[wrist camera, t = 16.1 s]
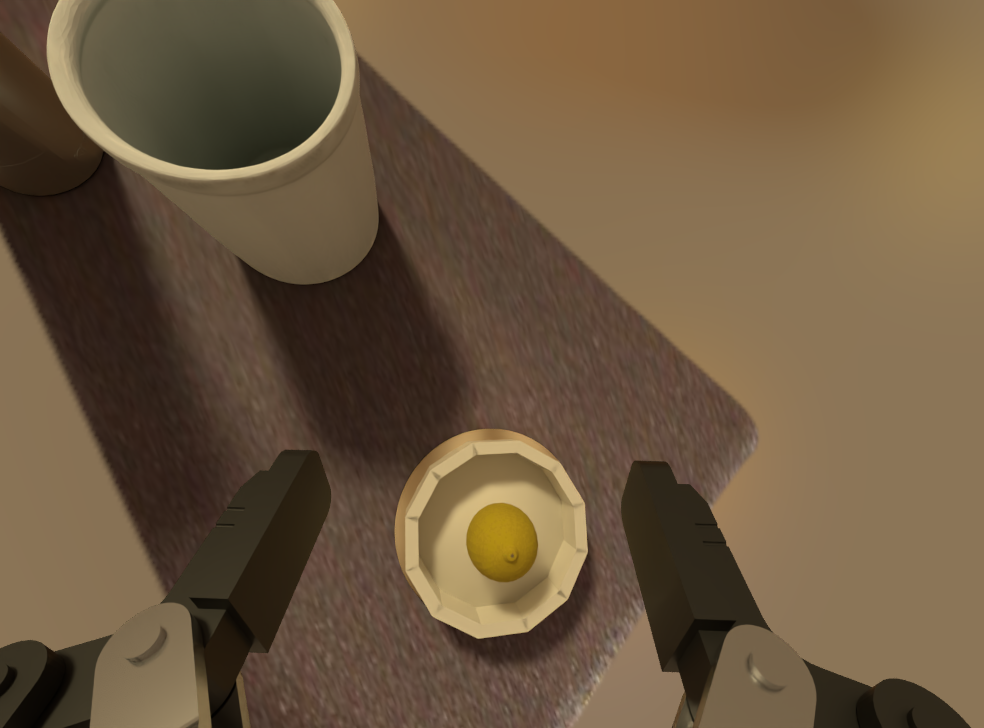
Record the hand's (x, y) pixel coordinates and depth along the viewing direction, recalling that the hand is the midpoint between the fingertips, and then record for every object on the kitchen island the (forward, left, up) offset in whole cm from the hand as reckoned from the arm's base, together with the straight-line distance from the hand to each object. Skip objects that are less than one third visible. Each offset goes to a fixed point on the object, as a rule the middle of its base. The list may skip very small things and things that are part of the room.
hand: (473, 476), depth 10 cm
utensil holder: (-12, +21, -28) cm, 37 cm away
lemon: (+5, -8, -26) cm, 28 cm away
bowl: (+5, -8, -27) cm, 28 cm away
